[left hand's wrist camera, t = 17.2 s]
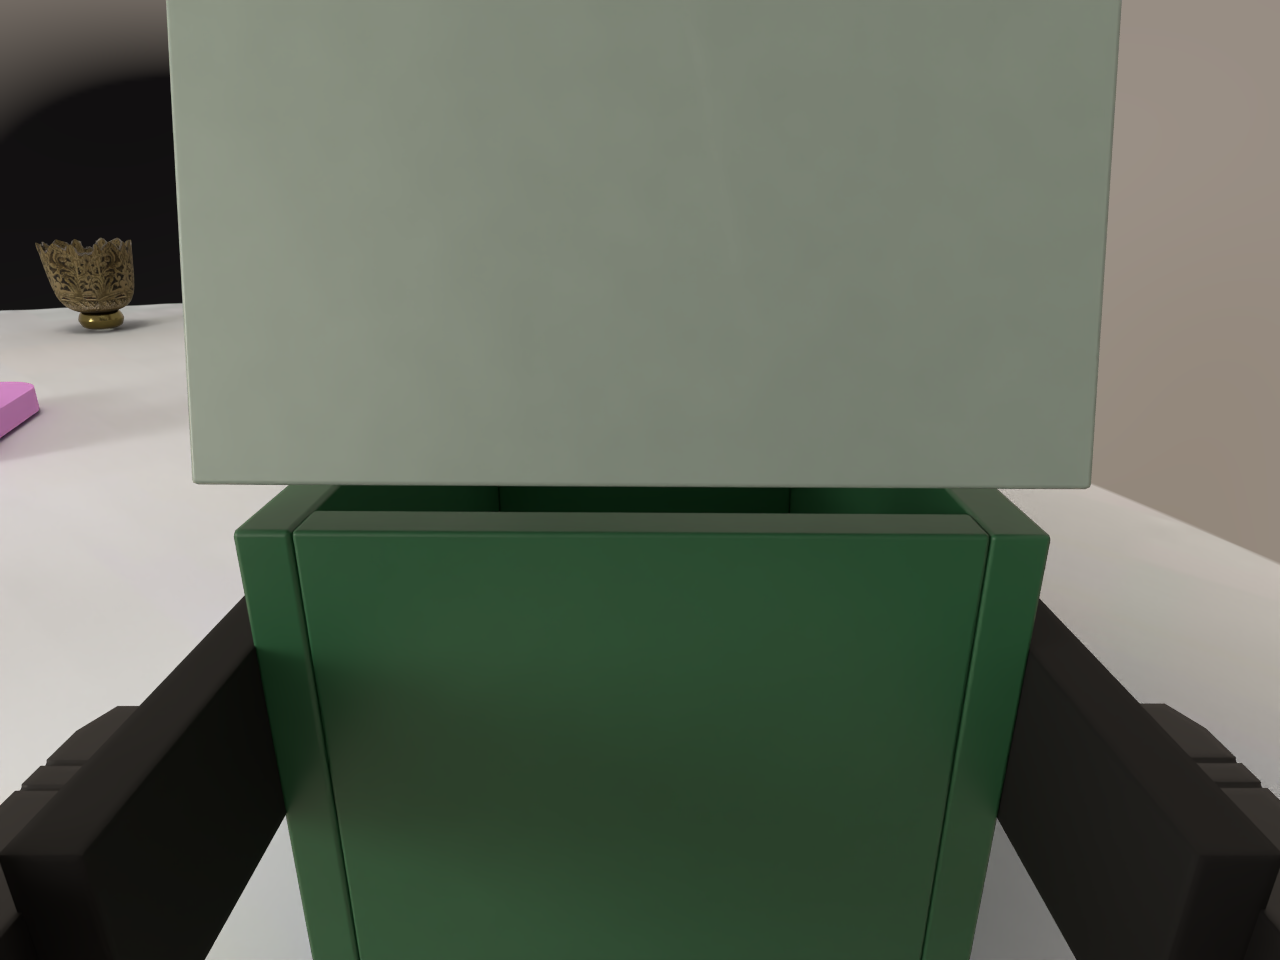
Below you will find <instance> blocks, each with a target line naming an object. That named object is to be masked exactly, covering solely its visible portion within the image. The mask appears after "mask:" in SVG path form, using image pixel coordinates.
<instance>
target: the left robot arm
mask: <svg viewBox="0 0 1280 960" xmlns="http://www.w3.org/2000/svg"><path fill="white" fill-rule="evenodd" d="M285 815H286V808H285V803H284V798H283V792H282V787H281V782H280V776H279V771H278V766H277V760H276V755H275V750H274V744H273V739H272V734H271V728H270V723H269V718H268V712H267V707H266V702H265V696H264V691H263V686H262V680H261V675H260V670H259V664H258V659H257V654H256V648H255V646H254V642H253V636H252V631H251V625H250V620H249V615H248V609H247V604H246V599H245V596H244V597H243V598H242V599H241V600H240V601H239V602H238V603H237V604H236V605H235V606H234V607H233V608H232V609H231V610H230V612H229V613H228V614H227V615H226V616H225V617H224V618H223V619H222V620H221V621H220V622H219V623H218V624H217V625H216V626H215V627H214V628H213V629H212V630H211V631H210V632H209V634H208V635H207V636H206V637H205V638H204V639H203V640H202V641H201V642H200V643H199V644H198V645H197V646H196V647H195V648H194V649H193V650H192V651H191V652H190V653H189V655H188V656H187V657H186V658H185V659H184V660H183V661H182V662H181V663H180V664H179V665H178V666H177V667H176V668H175V669H174V670H173V671H172V672H171V673H170V674H169V676H168V677H167V678H166V679H165V680H164V681H163V682H162V683H161V684H160V685H159V686H158V687H157V688H156V689H155V690H154V691H153V692H152V693H151V694H150V695H149V697H148V698H147V699H146V700H145V701H144V702H143V703H142V704H141V705H140V706H117V707H115V708H114V709H112V710H110V711H109V712H107V713H105V714H104V715H102V716H100V717H99V718H97V719H95V720H94V721H92V722H90V723H89V724H87V725H86V726H84V727H82V728H81V729H79V730H77V731H76V732H75V733H74V734H73V735H72V736H71V737H70V738H69V739H68V740H67V741H66V742H65V743H64V744H63V745H62V746H61V747H60V748H58V749H57V750H56V751H55V752H54V753H53V754H52V755H51V756H50V757H49V758H48V759H47V763H46V765H45V766H40V767H39V768H38V769H37V770H36V771H35V772H34V773H33V774H32V775H31V776H30V777H29V778H28V779H27V780H26V781H25V782H24V783H23V784H22V788H21V790H20V791H14V792H13V793H12V794H11V795H10V796H9V797H8V798H7V799H6V800H5V801H4V802H3V803H2V804H1V805H0V960H205V958H206V957H207V955H208V953H209V951H210V949H211V948H212V946H213V944H214V942H215V940H216V939H217V937H218V935H219V933H220V931H221V930H222V928H223V926H224V924H225V923H226V921H227V919H228V917H229V915H230V914H231V912H232V910H233V908H234V906H235V905H236V903H237V901H238V899H239V897H240V896H241V894H242V892H243V890H244V889H245V887H246V885H247V883H248V881H249V880H250V878H251V876H252V874H253V872H254V871H255V869H256V867H257V865H258V863H259V862H260V860H261V858H262V856H263V854H264V853H265V851H266V849H267V847H268V846H269V844H270V842H271V840H272V838H273V837H274V835H275V833H276V831H277V829H278V828H279V826H280V824H281V822H282V820H283V819H284V817H285ZM997 818H998V820H999V822H1000V824H1001V826H1002V827H1003V829H1004V831H1005V833H1006V834H1007V836H1008V838H1009V840H1010V842H1011V843H1012V845H1013V847H1014V849H1015V851H1016V852H1017V854H1018V856H1019V858H1020V860H1021V861H1022V863H1023V865H1024V867H1025V868H1026V870H1027V872H1028V874H1029V876H1030V877H1031V879H1032V881H1033V883H1034V885H1035V886H1036V888H1037V890H1038V892H1039V894H1040V895H1041V897H1042V899H1043V901H1044V902H1045V904H1046V906H1047V908H1048V910H1049V911H1050V913H1051V915H1052V917H1053V919H1054V920H1055V922H1056V924H1057V926H1058V928H1059V929H1060V931H1061V933H1062V935H1063V937H1064V938H1065V940H1066V942H1067V944H1068V945H1069V947H1070V949H1071V951H1072V953H1073V954H1074V956H1075V958H1076V960H1280V800H1279V799H1278V798H1277V797H1276V796H1275V795H1274V794H1273V793H1272V792H1271V791H1270V790H1269V789H1268V788H1262V787H1261V781H1260V780H1258V779H1257V778H1256V777H1255V776H1254V775H1253V774H1252V773H1251V772H1250V771H1249V770H1248V769H1247V768H1246V767H1245V766H1244V765H1243V764H1242V763H1237V762H1236V757H1235V756H1234V755H1233V754H1232V753H1231V752H1230V751H1229V750H1228V749H1227V748H1225V747H1224V746H1223V745H1222V744H1221V743H1220V742H1219V741H1218V740H1217V739H1216V738H1215V737H1214V736H1213V735H1212V734H1211V733H1210V732H1209V731H1208V730H1207V729H1206V728H1204V727H1203V726H1201V725H1199V724H1198V723H1196V722H1194V721H1193V720H1191V719H1189V718H1188V717H1186V716H1184V715H1183V714H1181V713H1179V712H1178V711H1176V710H1174V709H1173V708H1171V707H1169V706H1168V705H1166V704H1139V702H1138V701H1137V700H1136V699H1135V698H1134V697H1133V696H1132V695H1131V694H1130V693H1129V692H1128V691H1127V690H1126V689H1125V688H1124V687H1123V686H1122V685H1121V684H1120V683H1119V681H1118V680H1117V679H1116V678H1115V677H1114V676H1113V675H1112V674H1111V673H1110V672H1109V671H1108V670H1107V669H1106V668H1105V667H1104V666H1103V665H1102V664H1101V663H1100V662H1099V661H1098V659H1097V658H1096V657H1095V656H1094V655H1093V654H1092V653H1091V652H1090V651H1089V650H1088V649H1087V648H1086V647H1085V646H1084V645H1083V644H1082V643H1081V642H1080V641H1079V640H1078V638H1077V637H1076V636H1075V635H1074V634H1073V633H1072V632H1071V631H1070V630H1069V629H1068V628H1067V627H1066V626H1065V625H1064V624H1063V623H1062V622H1061V621H1060V620H1059V619H1058V617H1057V616H1056V615H1055V614H1054V613H1053V612H1052V611H1051V610H1050V609H1049V608H1048V607H1047V606H1046V605H1045V604H1044V603H1043V602H1042V601H1041V600H1040V599H1039V601H1038V606H1037V612H1036V617H1035V622H1034V627H1033V632H1032V638H1031V643H1030V648H1029V653H1028V658H1027V664H1026V669H1025V674H1024V679H1023V684H1022V690H1021V695H1020V700H1019V705H1018V710H1017V715H1016V721H1015V726H1014V731H1013V736H1012V741H1011V747H1010V752H1009V757H1008V762H1007V767H1006V773H1005V778H1004V783H1003V788H1002V793H1001V798H1000V804H999V809H998V814H997Z"/></svg>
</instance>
